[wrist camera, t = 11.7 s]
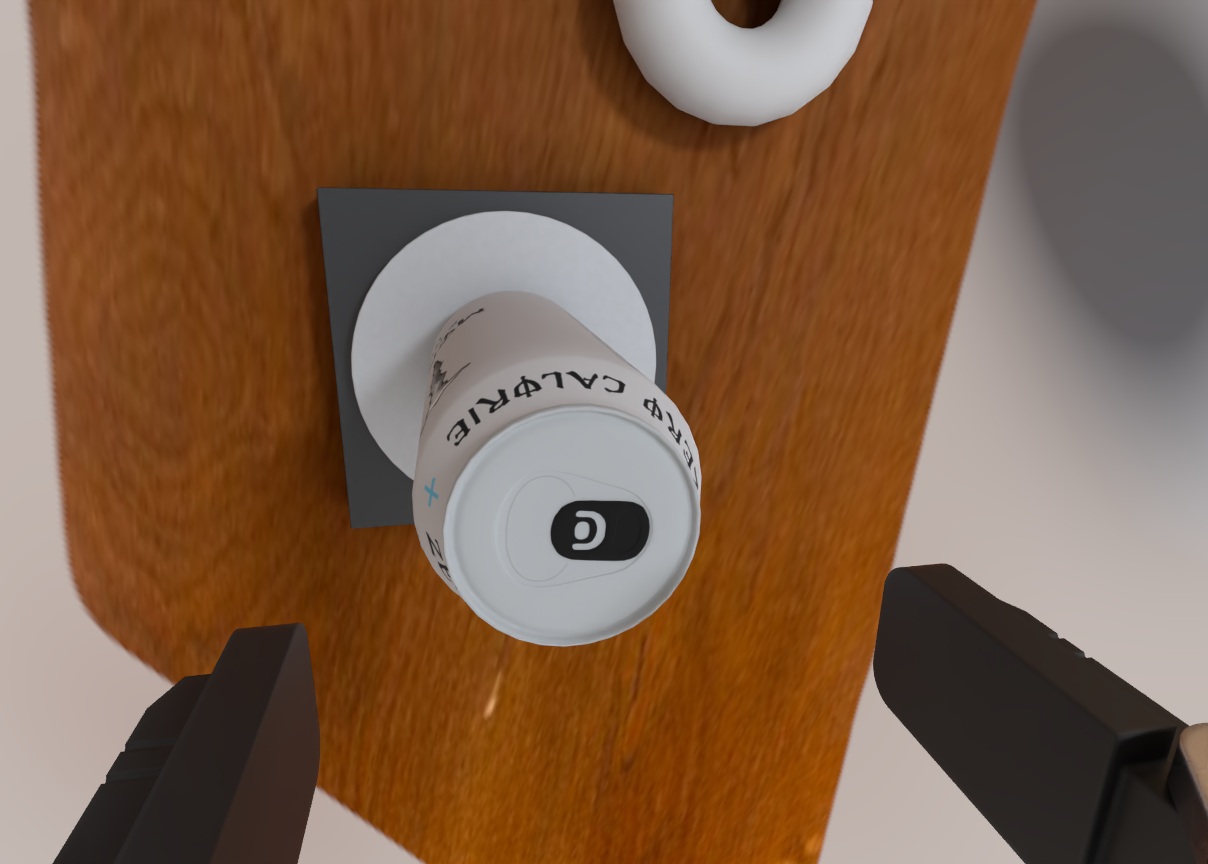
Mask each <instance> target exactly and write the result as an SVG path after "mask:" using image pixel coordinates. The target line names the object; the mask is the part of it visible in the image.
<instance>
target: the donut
mask: <svg viewBox="0 0 1208 864" xmlns="http://www.w3.org/2000/svg"><path fill="white" fill-rule="evenodd" d="M613 2H614V6H615V10H616V14H617V18H618V22H619V25H620V29H621V33H622V37H623V41H624V44H625V45H626V47H627V49H628V50H629V52H630V54H631V55H632V57H633V59H634V61H635V62H636V64H637V66H638V67H639V69H640V71H641V73H642V74H643V76H644V78H645V79H646V81H647V82H648V83H649V84H650V85H651V86H653V87H654V88H655V89H656V90H657V91H658V92H659V93H660V94H661V95H662V96H664V97H665V98H666V99H667V100H668V101H669V102H670V103H671V104H672V105H674V106H675V107H676V108H677V109H679V110H681V111H684V112H686V113H688V114H691V115H693V116H695V117H698V118H700V119H702V120H705V121H707V122H709V123H712V124H718V125H740V126H757V125H760V124H763V123H766V122H770V121H773V120H776V119H779V118H782V117H785V116H788V115H791V114H793V113H794V112H796V111H797V110H798V109H800V108H801V107H802V106H804V105H805V104H806V103H808V102H809V101H810V100H812V99H813V98H814V97H816V96H817V95H818V94H820V93H821V92H822V91H824V90H825V89H826V88H828V87H829V86H830V85H831V83H832V82H833V81H834V79H835V78H836V77H837V75H838V74H839V73H840V71H841V70H842V68H843V67H844V66H845V64H846V63H847V62H848V60H849V59H850V57H851V56H852V55H853V53H854V52H855V50H856V47H857V45H858V42H859V39H860V37H861V34H862V31H863V29H864V26H865V23H866V21H867V18H868V16H869V13H870V10H871V7H872V3H873V0H781V1H780V4H779V7H778V10H777V12H776V13H775V14H774V16H773V17H772V19H770V20H769V21H768V22H766V23H765V24H764V25H762V26H760V27H757V28H754V29H748V28H740V27H737V26H735V25H733V24H731V23H729V22H727V21H726V20H725V19H724V18H723V17H722V16H721V15H720V14H719V13H718V12H717V11H716V9H715V8H714V6H713V4H712V2H711V0H613Z"/></svg>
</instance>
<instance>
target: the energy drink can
mask: <svg viewBox="0 0 1208 864" xmlns="http://www.w3.org/2000/svg"><path fill="white" fill-rule="evenodd" d="M700 492H701V470H700V463H699V456H698V450H697V447H696V445H695V442H694V439H693V436H692V434H691V431H690V428H689V426H688V424H687V423H686V421H685V420H684V418H683V416H682V415H681V413H680V412H679V410H678V408H677V407H676V405H675V404H674V403H673V402H672V401H671V400H670V399H669V398H668V397H667V396H666V395H665V394H664V393H663V392H662V391H661V390H660V389H659V388H658V387H657V386H656V385H655V384H654V383H653V382H652V381H651V380H649V379H648V378H647V377H646V376H645V375H643V374H642V373H641V372H640V371H639V370H637V369H636V368H635V367H634V366H632V365H631V364H630V363H629V362H628V361H626V360H625V359H624V358H623V357H622V356H620V355H619V354H618V353H617V352H616V351H614V350H613V349H612V348H611V347H610V346H608V345H607V344H606V343H605V342H604V341H602V340H601V339H600V338H599V337H598V336H596V335H595V334H594V333H593V332H592V331H590V330H589V329H588V328H587V327H586V326H584V325H583V324H582V323H581V322H580V321H578V320H577V319H576V318H575V317H574V316H572V315H571V314H570V313H569V312H567V311H566V310H565V309H564V308H562V307H561V306H559V305H558V304H556V303H555V302H553V301H552V300H550V299H547V298H545V297H542V296H540V295H538V294H534V293H529V292H524V291H500V292H495V293H490V294H486V295H484V296H481V297H479V298H477V299H474V300H472V301H470V302H469V303H468V304H466V305H465V306H463V307H462V308H460V309H459V310H458V311H457V312H456V313H455V314H454V315H453V316H452V317H451V318H450V319H449V320H448V321H447V322H446V324H445V325H444V327H443V328H442V330H441V332H440V333H439V335H438V337H437V339H436V342H435V345H434V347H433V350H432V355H431V362H430V368H429V375H428V383H427V390H426V397H425V404H424V411H423V418H422V425H421V433H420V440H419V447H418V454H417V461H416V468H415V475H414V483H413V490H412V501H413V515H414V523H415V526H416V530H417V533H418V537H419V540H420V543H421V547H422V549H423V550H424V552H425V554H426V556H427V558H428V559H429V561H430V563H431V565H432V567H433V568H434V570H435V571H436V572H437V574H438V575H439V576H440V577H441V578H442V579H443V580H444V582H445V583H446V584H447V585H448V586H449V587H450V588H451V590H452V591H454V592H455V593H456V594H458V595H459V596H460V597H462V598H463V600H464V601H465V602H466V603H467V604H468V605H469V606H470V608H471V609H472V610H473V611H474V612H475V613H476V614H477V615H478V616H479V617H480V618H482V619H483V620H485V621H486V622H487V623H489V624H490V625H491V626H493V627H494V628H495V629H497V630H499V631H501V632H504V633H506V634H508V635H510V636H512V637H514V638H516V639H519V640H523V641H527V642H531V643H535V644H539V645H551V646H573V645H582V644H589V643H593V642H596V641H600V640H603V639H607V638H611V637H613V636H615V635H617V634H619V633H621V632H624V631H626V630H628V629H630V628H632V627H634V626H635V625H637V624H638V623H640V622H641V621H642V620H644V619H645V618H647V617H648V616H650V615H651V614H653V613H654V612H655V611H656V610H657V609H658V608H659V607H660V606H661V605H662V604H663V603H664V602H665V601H666V600H667V599H668V598H669V597H670V596H671V594H672V593H673V591H674V590H675V589H676V587H677V586H678V584H679V583H680V582H681V580H682V579H683V577H684V575H685V573H686V571H687V569H688V567H689V565H690V563H691V561H692V558H693V556H694V552H695V549H696V545H697V541H698V537H699V531H700V514H701V511H700Z"/></svg>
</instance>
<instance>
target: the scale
mask: <svg viewBox="0 0 1208 864" xmlns="http://www.w3.org/2000/svg"><path fill="white" fill-rule="evenodd" d="M317 197H318V207H319V217H320V227H321V237H322V247H323V257H324V267H325V276H326V286H327V296H328V306H329V316H330V326H331V336H332V346H333V355H334V365H335V375H336V385H337V395H338V405H339V415H340V425H341V435H342V444H343V454H344V464H345V474H346V484H347V494H348V504H349V514H350V523H351V528H365V527H379V526H393V525H406V524H415V523H414V515H413V501H412V490H413V483H414V475H415V468H416V461H417V454H418V447H419V440H420V433H421V425H422V418H423V411H424V404H425V397H426V390H427V383H428V375H429V368H430V362H431V355H432V350H433V347H434V345H435V342H436V339H437V337H438V335H439V333H440V332H441V330H442V328H443V327H444V325H445V324H446V322H447V321H448V320H449V319H450V318H451V317H452V316H453V315H454V314H455V313H456V312H457V311H458V310H459V309H460V308H462V307H463V306H465V305H466V304H468V303H469V302H470V301H472V300H474V299H477V298H479V297H481V296H484V295H486V294H490V293H495V292H500V291H524V292H529V293H534V294H538V295H540V296H542V297H545V298H547V299H550V300H552V301H553V302H555V303H556V304H558V305H559V306H561V307H562V308H564V309H565V310H566V311H567V312H569V313H570V314H571V315H572V316H574V317H575V318H576V319H577V320H578V321H580V322H581V323H582V324H583V325H584V326H586V327H587V328H588V329H589V330H590V331H592V332H593V333H594V334H595V335H596V336H598V337H599V338H600V339H601V340H602V341H604V342H605V343H606V344H607V345H608V346H610V347H611V348H612V349H613V350H614V351H616V352H617V353H618V354H619V355H620V356H622V357H623V358H624V359H625V360H626V361H628V362H629V363H630V364H631V365H632V366H634V367H635V368H636V369H637V370H639V371H640V372H641V373H642V374H643V375H645V376H646V377H647V378H648V379H649V380H651V381H652V382H653V383H654V384H655V385H656V386H657V387H658V388H659V389H660V390H661V391H662V392H663V393H664V394H665V395H666V379H667V353H668V327H669V301H670V275H671V248H672V222H673V194H641V193H588V192H535V191H482V190H429V189H376V188H323V187H318V188H317Z"/></svg>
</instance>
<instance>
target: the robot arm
mask: <svg viewBox="0 0 1208 864" xmlns="http://www.w3.org/2000/svg"><path fill="white" fill-rule="evenodd" d="M873 670H874V677H875V681H876V684H877V688H878V690H879V693H880V695H881V697H882V699H883V701H884V702H885V704H886V705H887V706H888V708H890V710H891V711H892V712H893V713H894V714H895V716H896V717H897V718H898V719H899V720H900V721H901V722H902V724H903V725H904V726H905V727H906V728H907V729H908V730H909V731H910V733H911V734H912V735H913V736H914V737H915V738H916V739H917V741H918V742H919V743H920V744H921V745H922V746H923V748H924V749H925V750H926V751H927V752H928V753H929V754H930V755H931V757H932V758H933V759H934V760H935V761H936V762H937V763H938V765H939V766H940V767H941V768H942V769H943V770H944V771H945V773H946V774H947V775H948V776H949V777H950V778H951V779H952V781H953V782H954V783H955V784H956V785H957V786H958V787H959V788H960V790H961V791H962V792H963V793H964V794H965V795H966V796H967V798H968V799H969V800H970V801H971V802H972V803H973V805H975V807H976V808H977V809H978V810H979V811H980V812H981V814H982V815H983V816H984V817H985V818H986V819H987V820H988V822H989V823H990V824H991V825H992V826H993V827H994V828H995V830H996V831H997V832H998V833H999V834H1000V835H1001V836H1002V838H1003V839H1004V840H1005V841H1006V842H1007V843H1008V844H1009V845H1010V846H1011V848H1012V849H1013V850H1014V851H1015V852H1016V853H1017V855H1018V856H1019V857H1020V858H1021V859H1022V860H1023V862H1024V863H1025V864H1208V723H1201V724H1195V725H1192V726H1189V725H1187V724H1186V723H1184V722H1183V721H1181V720H1180V719H1179V718H1177V717H1175V716H1174V715H1173V714H1171V713H1170V712H1169V711H1167V710H1166V709H1164V708H1163V707H1161V706H1160V705H1159V704H1157V703H1156V702H1154V701H1152V700H1151V699H1150V698H1149V697H1147V696H1146V695H1144V694H1143V693H1141V692H1140V691H1139V690H1137V689H1136V688H1134V687H1133V686H1131V685H1130V684H1129V683H1127V682H1126V681H1124V680H1123V679H1121V678H1120V677H1118V676H1117V675H1116V674H1114V673H1113V672H1111V671H1110V670H1109V669H1107V668H1106V667H1104V666H1103V665H1102V664H1100V663H1099V662H1097V661H1095V660H1094V659H1093V658H1086V657H1085V655H1084V652H1083V651H1081V650H1080V649H1079V648H1077V647H1076V646H1074V645H1073V644H1071V643H1070V642H1069V641H1067V640H1066V639H1064V638H1062V639H1059V638H1058V635H1057V633H1056V632H1054V631H1053V630H1052V629H1050V628H1049V627H1047V626H1046V625H1044V624H1043V623H1042V622H1040V621H1039V620H1037V619H1036V618H1034V617H1033V616H1032V615H1030V614H1029V613H1027V612H1026V611H1024V610H1021V609H1019V608H1017V607H1015V606H1012V605H1010V604H1008V603H1006V602H1003V601H1001V600H999V599H998V598H996V597H995V596H993V595H992V594H991V593H989V592H988V591H986V590H985V589H984V588H982V587H981V586H979V585H978V584H976V583H975V582H974V581H972V580H971V579H969V578H968V577H967V576H965V575H964V574H962V573H961V572H960V571H958V570H957V569H956V568H954V567H952V566H951V565H948V564H933V565H921V566H911V567H900V568H895V569H893V570H892V571H891V572H890V573H889V574H888V576H887V578H886V581H885V585H884V592H883V598H882V605H881V612H880V619H879V625H878V632H877V639H876V646H875V652H874V660H873ZM319 759H320V731H319V721H318V713H317V706H316V698H315V690H314V682H313V675H312V667H311V659H310V651H309V643H308V637H307V632H306V629H305V627H304V625H303V624H302V623H294V624H283V625H273V626H262V627H252V628H241V629H236V630H235V631H234V632H233V633H232V635H231V637H230V639H229V641H228V643H227V645H226V646H225V648H224V650H223V652H222V654H221V656H220V658H219V660H218V662H217V664H216V666H215V668H214V670H213V672H212V674H207V675H197V676H188V677H184V678H183V679H182V680H181V681H179V682H178V683H177V684H176V685H175V686H173V687H172V688H171V689H170V690H169V691H167V692H166V693H165V694H164V695H163V696H162V697H160V698H159V699H158V700H157V701H156V702H154V703H153V704H152V705H151V706H150V707H149V708H147V710H146V711H145V713H144V715H143V716H142V718H141V719H140V721H139V723H138V724H137V726H136V728H135V729H134V731H133V733H132V734H131V736H130V738H129V739H128V741H127V742H126V744H125V751H124V752H120V754H119V756H118V757H117V759H116V760H115V762H114V764H113V765H112V767H111V769H110V770H109V772H108V774H107V775H106V783H105V784H101V785H100V787H99V788H98V790H97V792H96V793H95V795H94V797H93V798H92V800H91V802H90V803H89V805H88V807H87V808H86V810H85V811H84V813H83V815H82V816H81V818H80V820H79V821H78V823H77V825H76V826H75V828H74V830H73V831H72V833H71V834H70V836H69V838H68V839H67V841H66V843H65V844H64V846H63V848H62V849H61V851H60V853H59V854H58V856H57V857H56V859H55V861H54V863H53V864H297V863H298V859H299V854H300V851H301V846H302V842H303V837H304V833H305V829H306V825H307V820H308V817H309V812H310V808H311V804H312V799H313V795H314V791H315V787H316V782H317V777H318V770H319Z"/></svg>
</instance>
